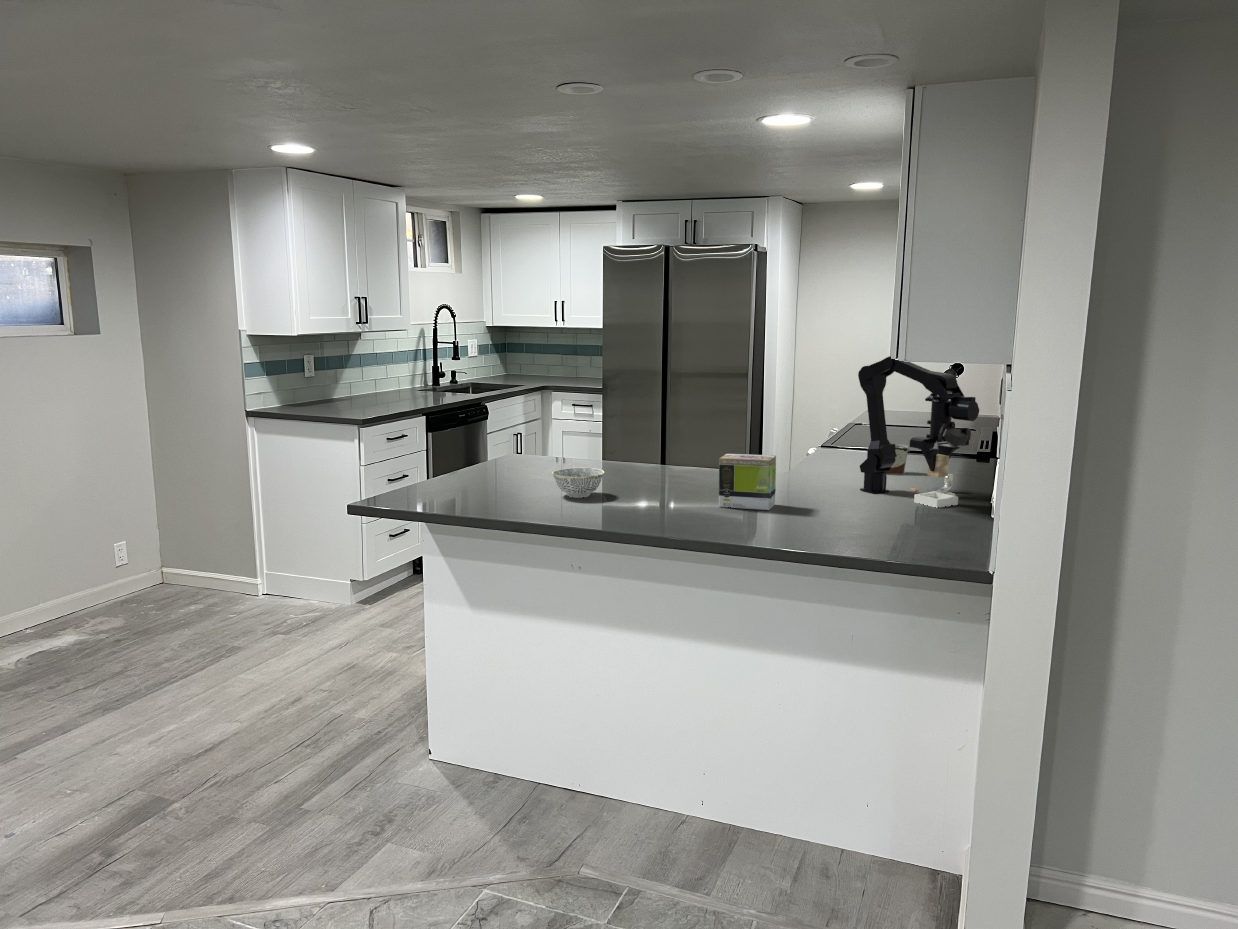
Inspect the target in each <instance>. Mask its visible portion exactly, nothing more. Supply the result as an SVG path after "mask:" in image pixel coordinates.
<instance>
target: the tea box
mask: <svg viewBox="0 0 1238 929" xmlns="http://www.w3.org/2000/svg"><path fill="white" fill-rule="evenodd" d="M776 471H777V455H772V454H771V455H770V454H769V455H767V454H748V453H747V454H745V453H743V454H742V453H725V454H723V455H722V456H721V457H719V458H718V508H728V507H729V509H731V508H732V509H745V510H746V509H747V510H758V511H770V510H771V509H772V508H773V507H774V506H775V505H776V486H777V485H776V482H777V478H776V475H777V472H776ZM730 507H731V508H730Z"/></svg>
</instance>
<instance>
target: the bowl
mask: <svg viewBox="0 0 1238 929" xmlns="http://www.w3.org/2000/svg"><path fill="white" fill-rule="evenodd" d="M551 473H552V476H553V477H554V480H555V482H556V485H557V487H558V488H559V490H561V491H562V492H563V493H565V494H566V495H567V497H568V496H569V498H572V497H573V498H574V499H582V498H583V497H584V498H589V497H590V496H591V493H593V492H595V491H596V490H597V489H598V487H599V486H600V484H601V481H602V478H603V476H604V474H605V471H604V470H603V469H600V468H595V467H567V468H566V467H565V468H561V469H555V470H553V471H552V472H551Z"/></svg>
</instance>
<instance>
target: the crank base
mask: <svg viewBox="0 0 1238 929" xmlns="http://www.w3.org/2000/svg"><path fill="white" fill-rule="evenodd" d="M918 490H919V489H918V488H914V487H911V488H910V491H914V492H918ZM929 492H937V490H932V491H928V492H927V493H929ZM946 494H948V495H952V496H957V494H956V493H954V492H949V491H947V493H946Z"/></svg>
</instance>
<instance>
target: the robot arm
mask: <svg viewBox="0 0 1238 929" xmlns="http://www.w3.org/2000/svg"><path fill="white" fill-rule="evenodd" d="M891 356H892V355H890V356H887V357H885V358H883V359H882V360H881V359H880V360H879V361H877V362H874V363H872V364H869V365H864V366H862V367H861V368H860V370H859V371H858V373H857V376H858V382H859V385H860V387H861V390H862V391H863V392H864V394H865V396H866V404H867V405H866V406H867V414H868V424H869V432H870V434H869V436H870V443H869V444H868V448H867V451H866V452H867V453H866V454H867V455H866V459H865V460H864V461H863V462H862V463H861V464H860V465H859V469H860V472H861V473H864V474H863V475H864V477H863V487H861V488H859V491H862V492H866V493H871V494H880V493H881V494H882V493H889V492H890V490H889V489H887V478H888V477H887V474H886V472H889V471H890V469H891V467H892V465H893V464H894V463H895V457H897V455H896V452H895V448H896V446H895V444H896V443H890V440H889V438H888V433H887V432H888V431H887V424H886V423H887V422H886V421H887V420H886V413H885V405H884V404H885V403H884V397H883V396H884V394H883V393H884V391H885V388H886V385H887V378H888V377H889V376H891V375H893V374H894V373H897V374H900V375H902V376H904V377H907V378H909V379H911V380H914V381H915V382H918V383H920V384H921V385H922V386H923V387H924V388H925V389H926V390H928V391H929V392H930V394H929V395H928V396H927V397H926V398H924V401H925V402H930V403H931V410H930V419H929V420H927V422H926V424H927V425H929V426H930V427H929V434H926V437H924V436H917V437H912V438H910V439H909V445H908V448H913V449H917V450H918V449H919V450H920V451H921V453H922V455H923V457H924V459H925V461H926V464H927V467H928V466H929V468H930V471H934V470H935V464H936V456H937V454H941V455H946V456H949V460H950V459H951V457H952V455H953V453H954V452H956V451H957V450H958V449H960V448H961V447H960V446H962V447H963V446H969V444H970V441H971V436H972V433H971V432H972V430H971V429H970V428H968V427H963V428H962V429H961V428H956V422H955V421H953V420H958V421H959V420H960V421H968V422H974V421H976V420H977V418H978V416H979V414H980V408H979V404H978V403H977V401H976V399H977V398H976V397H975V396H965V395H964V393H963V390H961V388H960V386H959V383H958V380H957V377H956V376H955V375H953V374H950V373H947V372H941V371H934V370H933V371H932V370H930V369H927V368H925V367H923V366H920V365H918V364H917V363H916V364H915V363H913V362H910V361H909V362H904V361H899V360H895V359H891ZM952 419H953V420H952Z"/></svg>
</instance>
